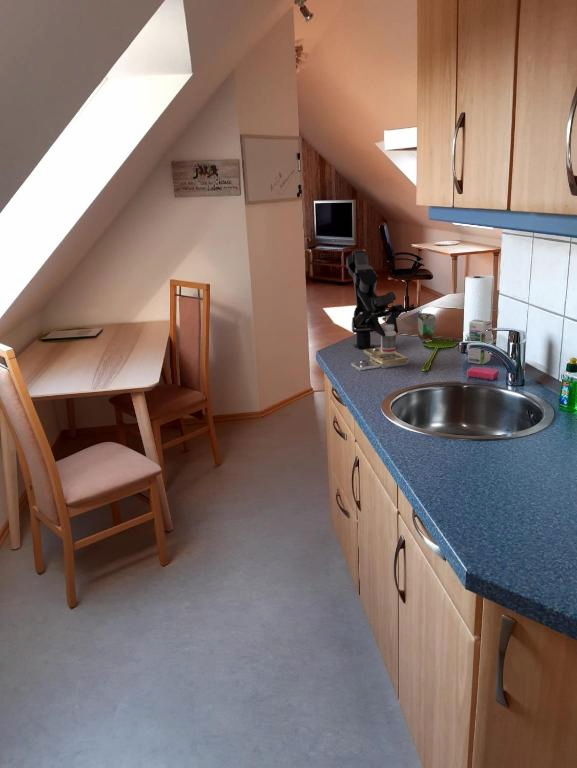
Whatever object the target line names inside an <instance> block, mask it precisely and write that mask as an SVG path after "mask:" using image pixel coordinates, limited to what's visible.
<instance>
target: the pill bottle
mask: <svg viewBox="0 0 577 768" xmlns="http://www.w3.org/2000/svg"><path fill="white" fill-rule="evenodd" d="M382 328H383V330H384V332H385V337H383V336H381V335H380V347H381V352H382V353H384V354H392V353H395V352H397V334H396V332H395V331H394V325H393V324H387V323H385V324H383V325H382Z"/></svg>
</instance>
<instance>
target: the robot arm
mask: <svg viewBox="0 0 577 768" xmlns="http://www.w3.org/2000/svg"><path fill="white" fill-rule="evenodd" d="M345 261H346V269H348V274H349V276H350V277H351V278H352V280H353V286H354V297H355V309H354V311H353V317H352V318H351V331H352V333H353V334H355V343H353V344H352V346H353V345H354V346H353V347H355V348H357V349H358V348H359V349H358V350H362V348H363V349H370V348H375V345H374V344H372V343H371V342H372V341H371V332H375V333H377V334H378V335H380V337H381V336H383V337H385V332H384V330H383V326H382V325H381V323H380V321H379V318H385V319H386V320H385V324H393V325H394V331H395V332H396V335H397V334H398V333H399V329H398V323H397V319H398V318H399V317H400V316H401V314H402V313H403V312H404V311H405V308H404V306H403V304H401V303H400V304H399V303H398V304H393V303H395V302H394V301H396V300H397V297H396V294H395V293H394V291H389V292H388V293H386V294H383V295H382V294H381V295H378V294H377V292H376V288H377V283H378V280H379V275H378V274H377V272H376V271H374V268H373V266H371V265H370V264H369V263H370V262H369V255H368V253H366V250H364V249H361V250H354V251H352V252H351V253H350V254H349V255H348V256H346V260H345ZM391 304H393V305H391ZM389 305H391V306H390V307H389ZM388 308H389V309H388Z"/></svg>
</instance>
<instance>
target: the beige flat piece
mask: <svg viewBox="0 0 577 768" xmlns="http://www.w3.org/2000/svg"><path fill="white" fill-rule="evenodd" d="M363 353H364V356H365V355H366V356H365V357H367V356H368V357H367V358H369V357H370V358H369V359H367V360H363V359H362V360H360V361H356V362H354V361H353V362H351V363H350V365H351V367H353V368H354V367H355V368H354V369H356V370H357V371H367V370H373V369H377V368H378V369H379V368H382V369H387V368H392V367H393V368H394V367H399V366H404V365H409V357H407V356H405V355H404V354H401V353H399V352H397V351H396V352H395V353H392V354H384V353H382V352H381V346H380V347H370V348H364V349H363ZM366 369H367V370H366Z"/></svg>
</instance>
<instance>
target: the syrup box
mask: <svg viewBox="0 0 577 768" xmlns="http://www.w3.org/2000/svg"><path fill="white" fill-rule="evenodd" d="M492 322H493V321H492V320H487V319H478V318H477V319H472V320H470V321H469V323H468V325H469V326H468V341H469V340H471V341H481V342H485V343H492V330H491V331H485V329H488V328H491V329H492V325H493V324H492ZM467 353H468V356H467V357H468V358H467V363H469V364H470V363H471V364H476V365H484V364H486V363H488V362H490V361H491V353H490V354H489V353H488V352H486V351H484V350H481V349H475V348H474V349H469V348H468V352H467Z"/></svg>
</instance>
